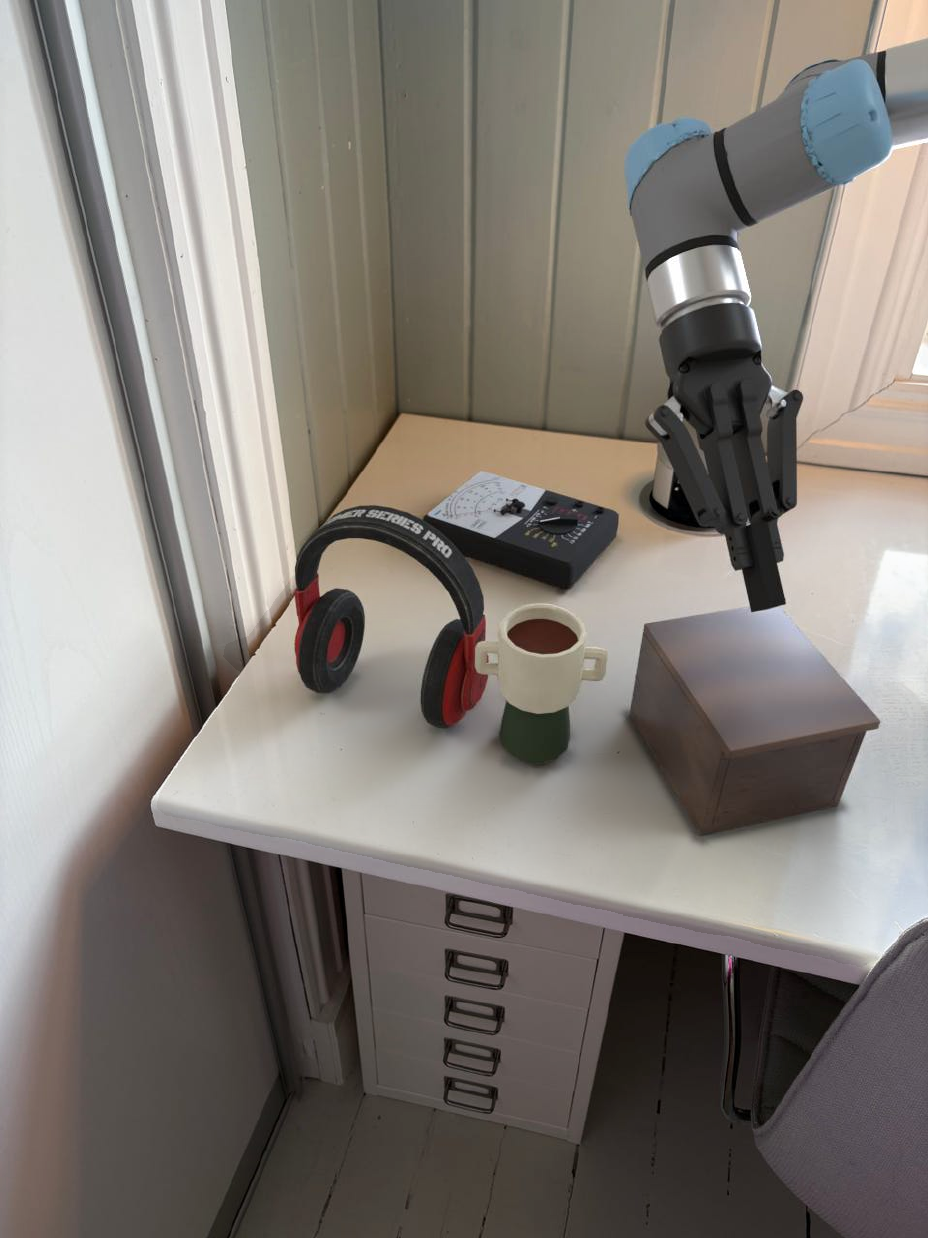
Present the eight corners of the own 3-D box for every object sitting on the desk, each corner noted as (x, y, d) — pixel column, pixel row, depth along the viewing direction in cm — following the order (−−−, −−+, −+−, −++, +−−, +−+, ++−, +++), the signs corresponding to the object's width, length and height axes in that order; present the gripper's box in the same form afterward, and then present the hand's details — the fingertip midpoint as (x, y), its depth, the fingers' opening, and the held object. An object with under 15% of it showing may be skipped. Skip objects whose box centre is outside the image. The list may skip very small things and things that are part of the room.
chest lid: (878, 729, 71) (881, 721, 70) (728, 759, 68) (730, 751, 67) (773, 609, 82) (775, 601, 82) (642, 631, 80) (644, 623, 79)
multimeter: (569, 593, 101) (572, 555, 98) (421, 542, 108) (420, 505, 105) (618, 537, 110) (622, 501, 106) (478, 493, 117) (478, 458, 114)
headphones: (498, 688, 88) (506, 507, 76) (459, 759, 81) (461, 571, 69) (335, 643, 94) (318, 467, 81) (284, 706, 86) (257, 522, 74)
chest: (838, 806, 77) (871, 721, 71) (700, 836, 75) (722, 750, 69) (751, 691, 88) (773, 609, 82) (629, 714, 86) (642, 631, 80)
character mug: (594, 719, 85) (608, 606, 77) (596, 776, 80) (613, 661, 72) (476, 711, 86) (478, 599, 78) (470, 768, 80) (472, 653, 72)
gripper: (754, 333, 79) (815, 603, 77) (612, 347, 76) (671, 628, 74) (802, 290, 72) (871, 587, 69) (647, 305, 69) (713, 614, 67)
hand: (768, 608), depth 72 cm, fingers closed
